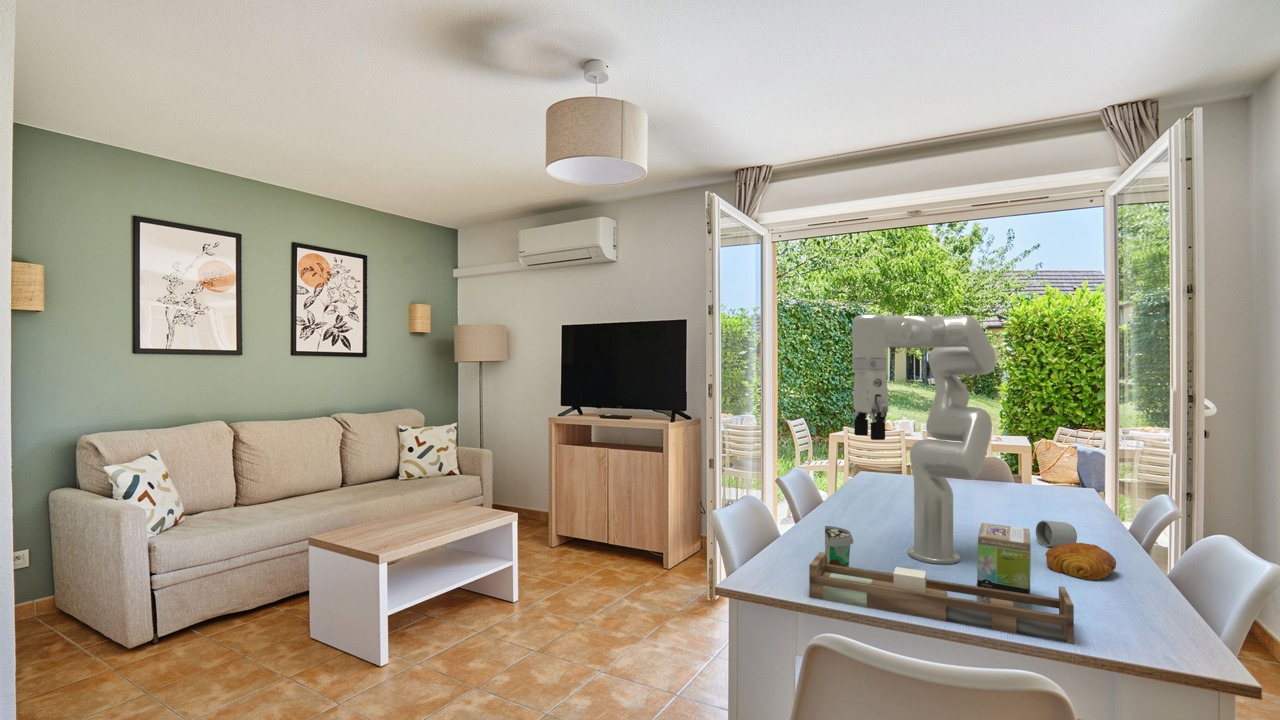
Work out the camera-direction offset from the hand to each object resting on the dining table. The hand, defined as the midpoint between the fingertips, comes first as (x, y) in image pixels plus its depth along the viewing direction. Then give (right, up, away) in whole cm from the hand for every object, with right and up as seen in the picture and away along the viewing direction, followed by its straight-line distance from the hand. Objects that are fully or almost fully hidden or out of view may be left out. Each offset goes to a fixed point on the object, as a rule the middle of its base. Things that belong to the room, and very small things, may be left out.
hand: (869, 437), depth 145 cm
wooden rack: (+6, -34, -18) cm, 39 cm away
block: (+3, -31, -16) cm, 35 cm away
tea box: (+26, -34, -11) cm, 44 cm away
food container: (-5, -35, +5) cm, 35 cm away
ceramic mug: (+65, -36, +30) cm, 80 cm away
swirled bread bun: (+56, -35, +8) cm, 67 cm away
